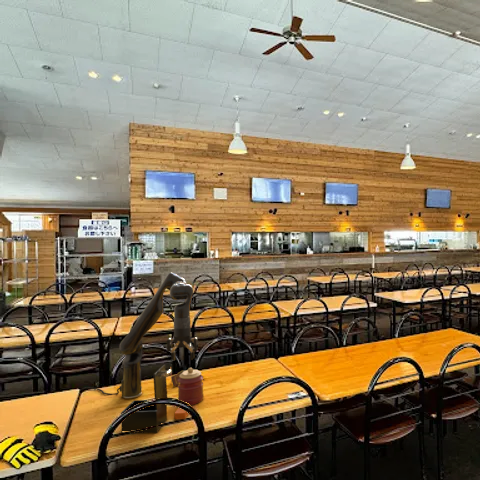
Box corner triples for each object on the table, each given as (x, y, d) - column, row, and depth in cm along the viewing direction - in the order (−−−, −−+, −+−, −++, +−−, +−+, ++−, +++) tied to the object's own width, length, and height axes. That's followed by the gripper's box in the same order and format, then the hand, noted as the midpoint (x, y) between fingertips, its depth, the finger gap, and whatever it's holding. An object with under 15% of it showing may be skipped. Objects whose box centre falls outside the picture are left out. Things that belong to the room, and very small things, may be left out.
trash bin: (121, 434, 169) (121, 412, 169) (134, 420, 182) (133, 400, 182) (156, 432, 170) (156, 411, 170) (167, 419, 182) (166, 399, 182)
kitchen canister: (205, 394, 211) (204, 363, 210) (201, 404, 198) (200, 371, 198) (181, 396, 209) (180, 364, 209) (175, 406, 196) (174, 372, 196)
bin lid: (153, 374, 170) (164, 373, 170) (163, 364, 182) (174, 363, 182) (155, 410, 170) (167, 409, 170) (165, 398, 182) (176, 397, 182)
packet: (185, 419, 182) (185, 412, 182) (174, 419, 182) (174, 413, 182) (190, 411, 190) (190, 405, 190) (180, 411, 190) (180, 405, 190)
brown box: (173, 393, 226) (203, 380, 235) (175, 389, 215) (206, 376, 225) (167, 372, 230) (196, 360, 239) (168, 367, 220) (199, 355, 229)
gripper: (199, 324, 186) (200, 356, 186) (170, 324, 186) (170, 357, 186) (194, 327, 179) (195, 361, 179) (164, 328, 178) (165, 362, 178)
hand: (182, 359), depth 182 cm, fingers open, 8 cm apart
